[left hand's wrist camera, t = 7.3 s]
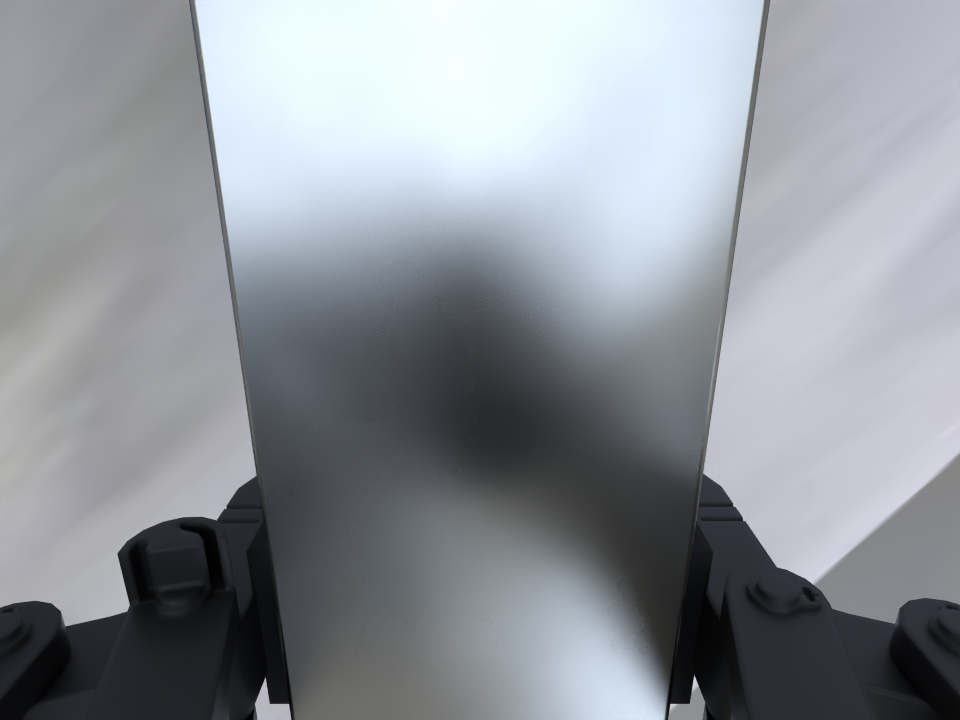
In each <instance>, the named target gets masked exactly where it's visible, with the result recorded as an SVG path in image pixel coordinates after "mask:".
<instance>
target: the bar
mask: <svg viewBox="0 0 960 720" xmlns="http://www.w3.org/2000/svg"><path fill="white" fill-rule="evenodd" d="M189 2H190V9H191V17H192V24H193V31H194V38H195V45H196V52H197V59H198V66H199V73H200V80H201V87H202V94H203V101H204V108H205V115H206V122H207V129H208V136H209V143H210V150H211V157H212V164H213V171H214V178H215V185H216V192H217V199H218V206H219V213H220V221H221V228H222V235H223V242H224V249H225V256H226V263H227V270H228V277H229V284H230V291H231V298H232V305H233V312H234V319H235V326H236V333H237V340H238V347H239V354H240V361H241V368H242V375H243V382H244V389H245V396H246V403H247V410H248V418H249V425H250V432H251V439H252V446H253V453H254V460H255V467H256V474H257V481H258V488H259V495H260V502H261V509H262V516H263V523H264V530H265V537H266V544H267V551H268V558H269V565H270V572H271V579H272V586H273V593H274V600H275V607H276V615H277V622H278V629H279V636H280V643H281V650H282V657H283V664H284V671H285V678H286V685H287V692H288V699H289V706H290V713H291V720H668V716H669V709H670V702H671V695H672V688H673V681H674V674H675V667H676V660H677V653H678V645H679V638H680V631H681V624H682V617H683V610H684V603H685V596H686V589H687V582H688V575H689V568H690V561H691V554H692V547H693V540H694V533H695V526H696V519H697V512H698V505H699V498H700V491H701V483H702V476H703V469H704V462H705V455H706V448H707V441H708V434H709V427H710V420H711V413H712V406H713V399H714V392H715V385H716V378H717V371H718V364H719V357H720V350H721V343H722V336H723V329H724V321H725V314H726V307H727V300H728V293H729V286H730V279H731V272H732V265H733V258H734V251H735V244H736V237H737V230H738V223H739V216H740V209H741V202H742V195H743V188H744V181H745V174H746V167H747V159H748V152H749V145H750V138H751V131H752V124H753V117H754V110H755V103H756V96H757V89H758V82H759V75H760V68H761V61H762V54H763V47H764V40H765V33H766V26H767V19H768V12H769V5H770V0H189Z"/></svg>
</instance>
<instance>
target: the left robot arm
mask: <svg viewBox="0 0 960 720" xmlns="http://www.w3.org/2000/svg"><path fill="white" fill-rule="evenodd" d="M118 558H119V562H120V566H121V570H122V574H123V578H124V583H125V587H126V591H127V595H128V599H129V603H130V606H129V609H128V611H127V612H124V613H121V614H118V615H114V616H111V617H106V618H102V619H97V620H93V621H88V622H84V623H79V624H75V625H70V626H66V627H65V625H64V621H63V618H62V614H61V611H60V610H59V609H57V608H56V607H55V606H54V605H53V604H51V603H45V602H39V601H30V602H22V603H14V604H11V605H8V606H4V607H1V608H0V720H257V714H256V708H255V702H256V700H257V697H258V695H259V692H260V690H261V687H262V685H263V682H264V679H265V677H266V682H267V688H268V695H269V701H270V704H289V699H288V692H287V685H286V678H285V671H284V664H283V657H282V650H281V643H280V636H279V629H278V622H277V615H276V607H275V600H274V593H273V586H272V579H271V572H270V565H269V558H268V551H267V544H266V537H265V530H264V523H263V516H262V509H261V502H260V495H259V488H258V481H257V476H256V477H254V478H253V479H251V480H250V481H249V482H247V483H246V484H244V485H243V486H241V487H240V488H239V489H238V490H237V491H236V493H235V494H234V496H233V497H232V499H231V500H230V502H229V503H228V505H227V509H224V511H223V512H222V513H221V515H220V516H219V518H218V519H217V521H216V520H212V519H208V518H204V517H183V518H178V519H174V520H169V521H165V522H162V523H159V524H157V525H155V526H152V527H150V528H147V529H145V530H143V531H142V532H140V533H139V534H137V535H136V536H134V537H133V538H131V539H130V540H128V541H127V542H126V544H125V545H124V546H123V547H122V549H121V550H120V551H119V552H118ZM694 675H695V678H696V680H697V683H698V685H699V688H700V690H701V693H702V695H703V698H704V700H705V708H704V714H703V720H960V605H958V604H956V603H952V602H949V601H944V600H936V599H928V598H923V599H917V600H911V601H908V602H907V603H906V604H904V605H903V606H902V607H901V608H900V609H899V613H898V616H897V619H896V623H895V624H892V623H888V622H883V621H879V620H874V619H870V618H865V617H861V616H856V615H852V614H848V613H844V612H841V611H837V610H834V609H832V608H831V605H830V604H829V602H828V601H827V599H826V598H825V596H824V595H823V593H822V592H821V591H820V590H819V589H818V588H816V587H815V586H814V585H813V584H811V583H810V582H809V581H808V580H806V579H805V578H802V577H800V576H798V575H796V574H794V573H792V572H790V571H788V570H785V569H781V568H777V567H776V565H775V564H774V562H773V561H772V560H771V558H770V557H769V555H768V554H767V552H766V551H765V549H764V548H763V546H762V545H761V544H760V542H759V541H758V539H757V538H756V536H755V535H754V533H753V532H752V530H751V529H750V527H749V526H748V525H747V523H746V522H745V521H743V517H742V516H741V514H740V513H739V511H738V510H737V509H736V507H733V503H732V501H731V500H730V498H729V497H728V495H727V494H726V493H725V491H724V490H723V488H722V487H721V486H720V485H718V484H717V483H716V482H714V481H713V480H711V479H710V478H708V477H707V476H706V475H704V474H703V476H702V483H701V491H700V498H699V505H698V512H697V519H696V526H695V533H694V540H693V547H692V554H691V561H690V568H689V575H688V582H687V589H686V596H685V603H684V610H683V617H682V624H681V631H680V638H679V645H678V653H677V660H676V667H675V674H674V681H673V688H672V695H671V702H670V704H689V703H690V698H691V692H692V686H693V679H694Z"/></svg>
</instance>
